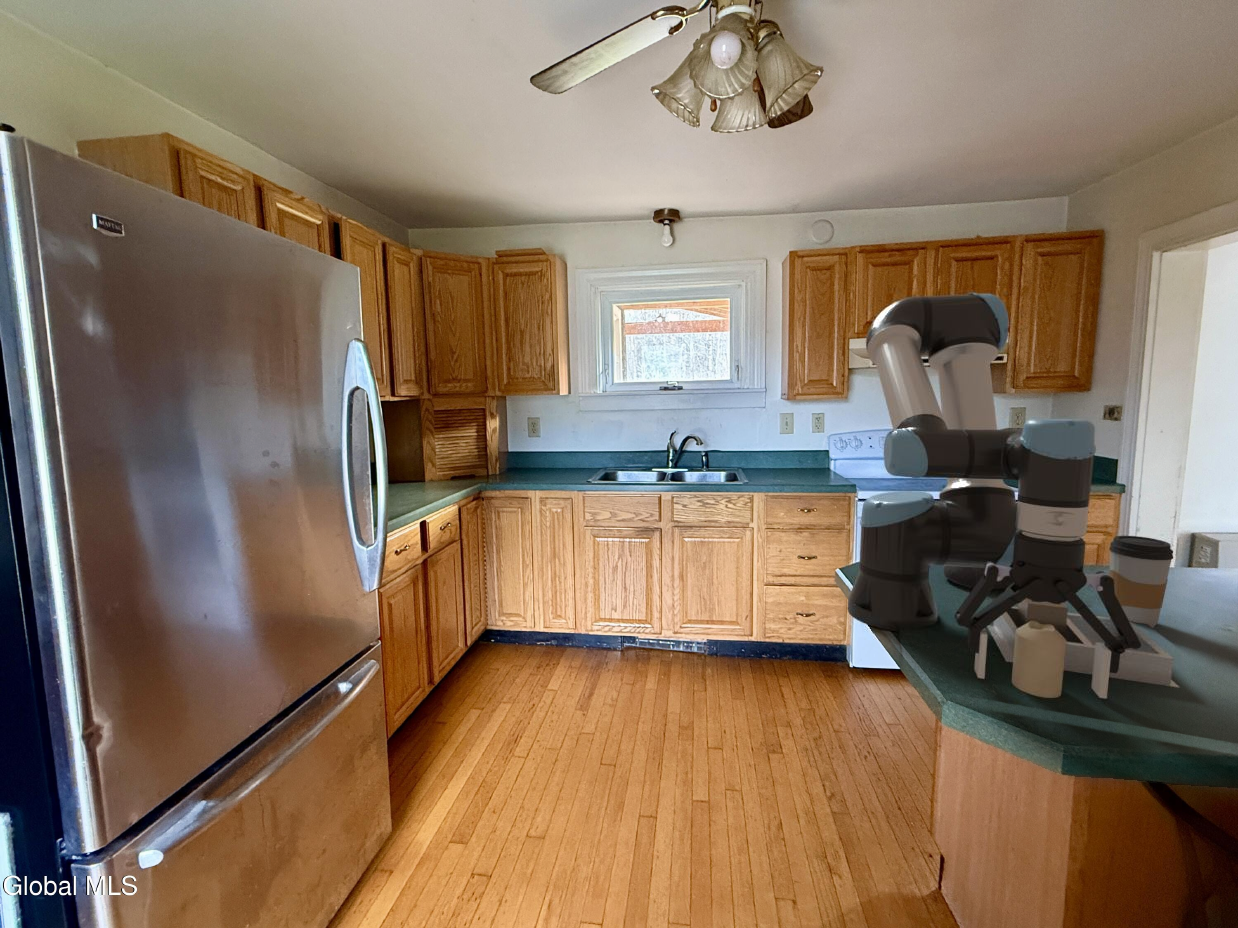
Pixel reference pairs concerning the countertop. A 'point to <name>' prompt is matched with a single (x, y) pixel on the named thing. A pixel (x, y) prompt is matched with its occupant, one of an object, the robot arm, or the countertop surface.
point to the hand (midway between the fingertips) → (1036, 683)
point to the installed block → (1043, 614)
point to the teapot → (971, 576)
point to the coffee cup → (1140, 576)
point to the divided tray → (1080, 649)
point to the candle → (1038, 660)
